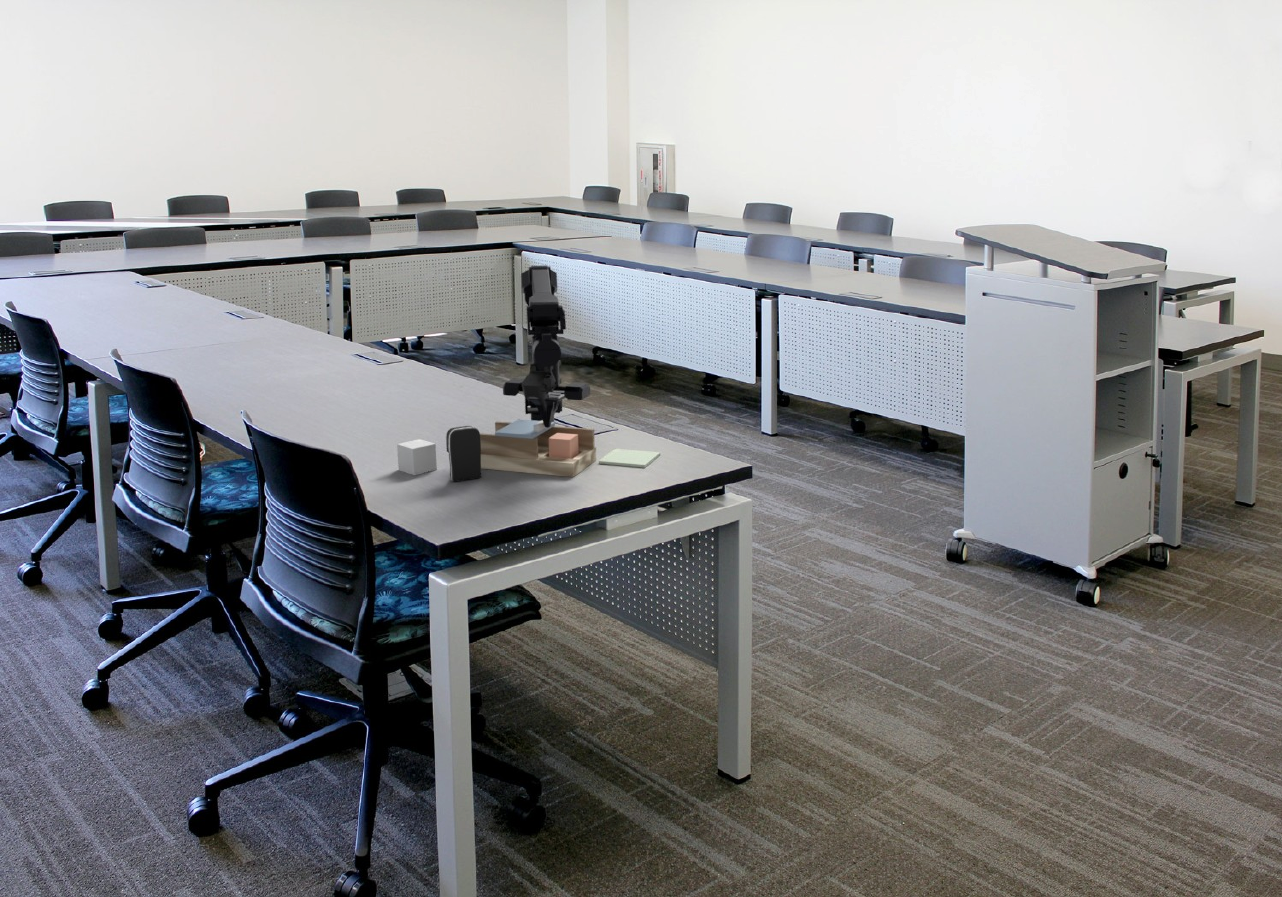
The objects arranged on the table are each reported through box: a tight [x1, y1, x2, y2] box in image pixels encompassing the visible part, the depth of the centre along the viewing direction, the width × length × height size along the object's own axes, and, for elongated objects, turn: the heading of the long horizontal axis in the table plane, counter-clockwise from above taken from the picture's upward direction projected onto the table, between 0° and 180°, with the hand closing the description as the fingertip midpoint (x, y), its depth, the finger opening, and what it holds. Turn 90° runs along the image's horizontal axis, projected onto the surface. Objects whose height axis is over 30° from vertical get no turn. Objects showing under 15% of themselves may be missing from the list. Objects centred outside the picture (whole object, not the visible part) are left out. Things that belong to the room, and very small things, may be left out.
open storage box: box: [480, 420, 597, 478], centre depth 262 cm, size 14×24×8 cm, turn 71°
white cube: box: [396, 438, 438, 476], centre depth 258 cm, size 6×6×6 cm
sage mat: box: [598, 448, 661, 469], centre depth 266 cm, size 11×11×1 cm
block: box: [549, 433, 579, 459], centre depth 260 cm, size 5×5×7 cm
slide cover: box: [494, 418, 556, 439], centre depth 261 cm, size 12×9×2 cm
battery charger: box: [445, 425, 482, 482], centre depth 251 cm, size 7×4×11 cm, turn 120°
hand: (547, 427), depth 260 cm, fingers closed
